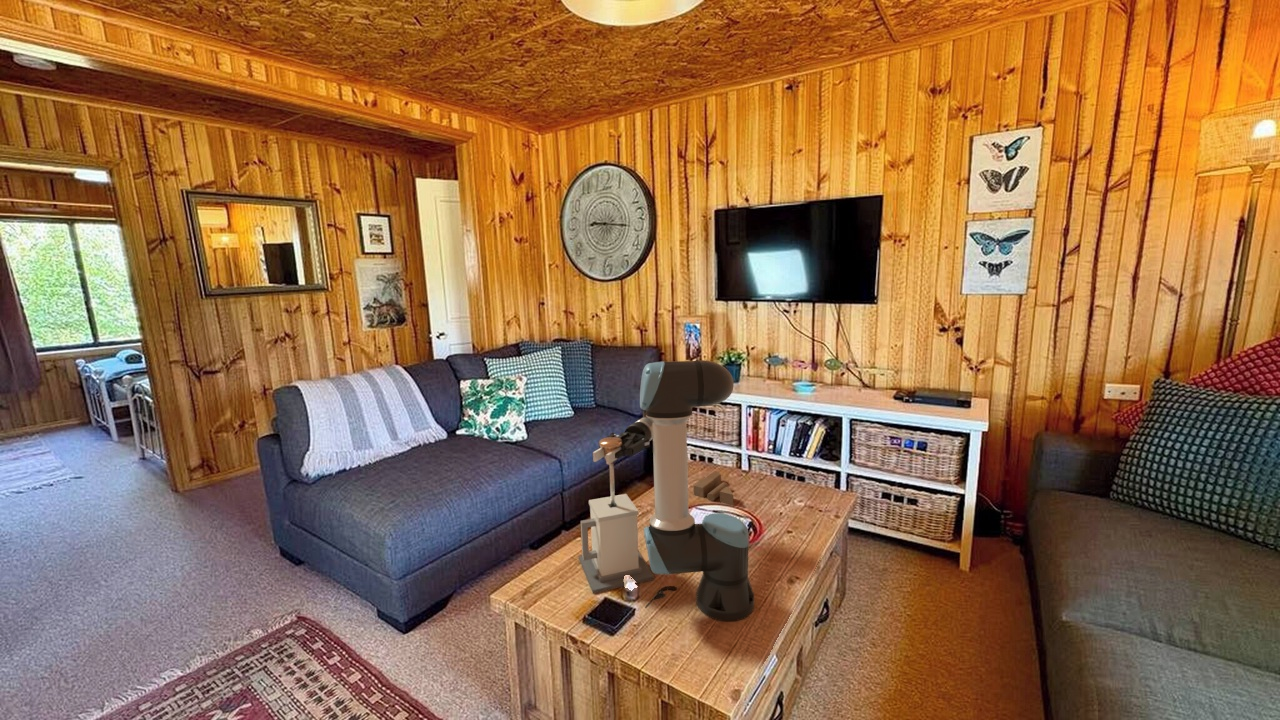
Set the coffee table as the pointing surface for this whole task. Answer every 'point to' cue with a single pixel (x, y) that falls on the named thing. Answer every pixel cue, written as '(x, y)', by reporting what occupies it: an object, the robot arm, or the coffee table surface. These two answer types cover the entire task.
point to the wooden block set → (707, 489)
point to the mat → (614, 583)
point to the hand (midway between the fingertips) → (600, 458)
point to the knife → (661, 594)
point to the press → (612, 538)
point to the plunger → (609, 446)
